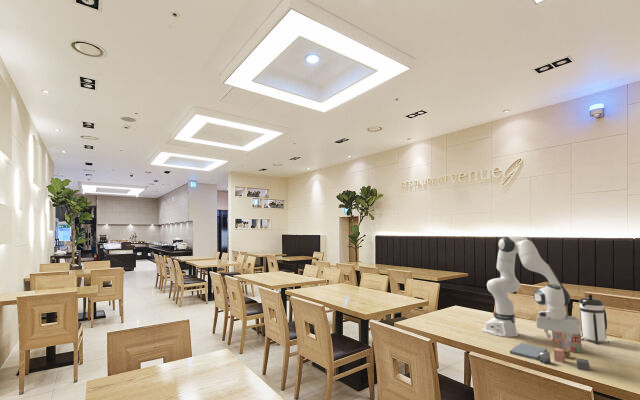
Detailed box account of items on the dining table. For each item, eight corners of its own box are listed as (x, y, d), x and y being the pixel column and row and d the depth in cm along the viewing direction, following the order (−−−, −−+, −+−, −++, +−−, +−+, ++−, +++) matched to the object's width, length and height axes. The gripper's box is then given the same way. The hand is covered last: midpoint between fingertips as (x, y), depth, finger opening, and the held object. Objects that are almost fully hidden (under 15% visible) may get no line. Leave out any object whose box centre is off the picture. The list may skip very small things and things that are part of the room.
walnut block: (557, 356, 191) (557, 349, 192) (559, 354, 194) (559, 347, 195) (568, 359, 187) (567, 351, 188) (570, 356, 191) (569, 349, 191)
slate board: (509, 353, 197) (509, 350, 197) (521, 345, 210) (521, 342, 210) (536, 360, 186) (536, 357, 187) (547, 351, 200) (547, 348, 200)
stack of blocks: (552, 340, 219) (550, 321, 220) (562, 340, 218) (561, 321, 219) (570, 352, 198) (569, 331, 199) (582, 352, 197) (580, 331, 198)
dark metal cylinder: (538, 362, 184) (537, 352, 184) (541, 359, 187) (540, 350, 187) (549, 364, 180) (548, 355, 180) (551, 362, 183) (551, 352, 184)
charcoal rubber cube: (577, 369, 174) (577, 361, 175) (576, 365, 178) (576, 358, 179) (589, 371, 171) (589, 363, 172) (588, 367, 176) (588, 360, 176)
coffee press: (614, 346, 205) (609, 297, 207) (581, 342, 213) (577, 295, 216) (608, 338, 219) (604, 292, 222) (577, 335, 228) (574, 290, 230)
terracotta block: (554, 360, 185) (553, 349, 186) (556, 358, 188) (555, 347, 188) (563, 362, 182) (562, 351, 183) (565, 360, 185) (564, 349, 185)
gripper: (580, 316, 182) (583, 342, 180) (537, 310, 197) (539, 334, 195) (578, 318, 177) (580, 345, 176) (534, 312, 193) (536, 336, 191)
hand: (558, 339), depth 186 cm, fingers open, 8 cm apart
